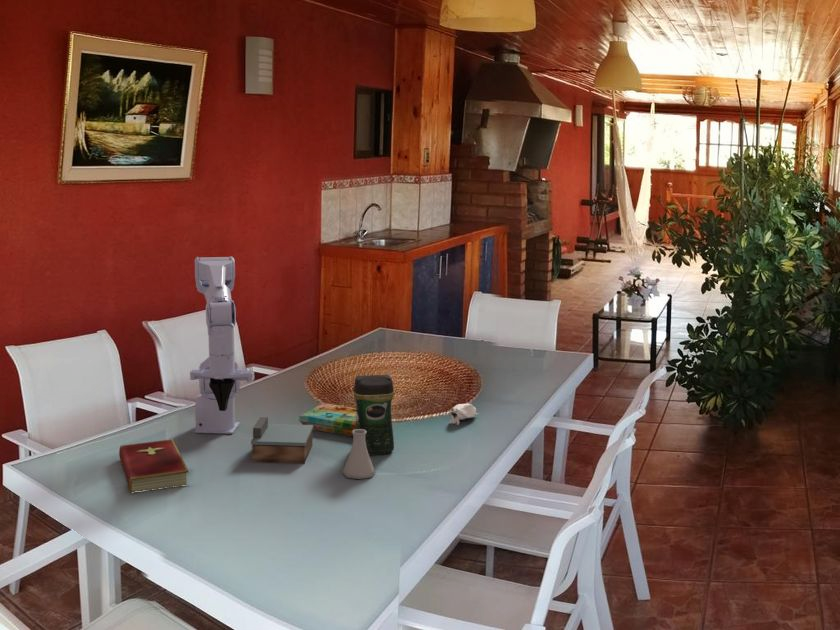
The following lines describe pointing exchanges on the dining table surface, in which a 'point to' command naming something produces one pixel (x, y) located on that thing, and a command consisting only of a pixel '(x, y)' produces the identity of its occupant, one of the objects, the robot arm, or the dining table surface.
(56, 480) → the dining table surface
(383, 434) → the coffee jar
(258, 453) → the box
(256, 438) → the lid
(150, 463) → the hardcover book
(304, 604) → the dining table surface
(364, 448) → the flask
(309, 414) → the puzzle game
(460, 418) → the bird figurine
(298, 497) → the dining table surface
